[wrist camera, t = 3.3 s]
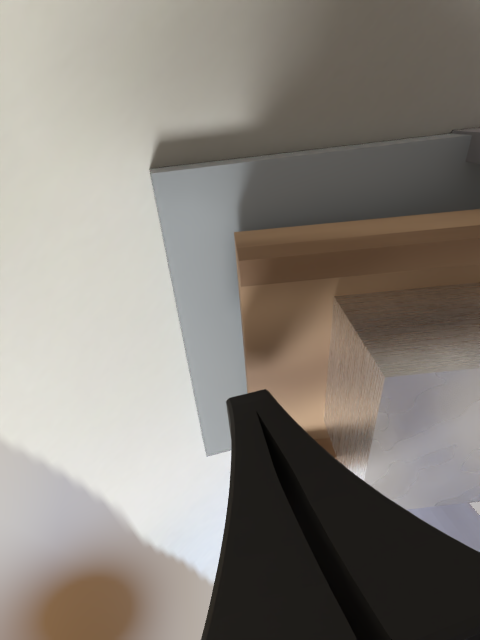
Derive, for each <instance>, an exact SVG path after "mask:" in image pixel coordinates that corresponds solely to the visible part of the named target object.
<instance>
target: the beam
mask: <svg viewBox="0 0 480 640" xmlns="http://www.w3.org/2000/svg"><path fill="white" fill-rule="evenodd" d="M234 239H235V251H236V263H237V275H238V287H239V299H240V310H241V322H242V334H243V346H244V358H245V370H246V382H247V393H251V392H255V391H259V390H264V389H266V390H268V391H269V392H270V393H271V395H272V396H273V397H274V398H275V399H276V401H277V402H278V403H279V404H280V405H281V406H282V407H283V409H284V410H285V411H286V412H287V413H288V414H289V415H290V416H291V417H292V418H293V419H294V420H295V421H296V422H297V423H298V424H299V425H300V426H301V427H302V428H303V429H304V430H305V431H306V432H307V433H308V434H309V435H310V436H311V437H312V438H313V439H314V440H315V441H316V442H317V443H318V444H320V445H321V446H322V447H323V448H324V449H325V450H326V451H327V452H329V453H330V454H331V455H332V456H333V457H334V458H335V459H337V457H336V454H335V451H334V448H333V445H332V442H331V440H330V437H329V434H328V431H327V428H326V425H325V422H324V411H325V399H326V387H327V375H328V363H329V351H330V339H331V327H332V315H333V303H334V297H335V296H345V295H355V294H365V293H375V292H386V291H396V290H406V289H416V288H426V287H436V286H446V285H457V284H467V283H477V282H480V209H474V210H464V211H453V212H442V213H432V214H421V215H411V216H400V217H389V218H379V219H368V220H357V221H347V222H336V223H326V224H315V225H304V226H294V227H283V228H273V229H262V230H251V231H241V232H234ZM337 460H338V459H337Z"/></svg>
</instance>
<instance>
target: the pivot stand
mask: <svg viewBox="0 0 480 640" xmlns="http://www.w3.org/2000/svg"><path fill="white" fill-rule="evenodd" d="M149 170H150V175H151V180H152V185H153V190H154V195H155V200H156V205H157V210H158V215H159V220H160V225H161V230H162V235H163V240H164V245H165V250H166V256H167V261H168V266H169V271H170V276H171V281H172V286H173V291H174V296H175V301H176V306H177V311H178V316H179V321H180V326H181V331H182V336H183V341H184V346H185V351H186V356H187V361H188V366H189V371H190V376H191V381H192V386H193V391H194V396H195V401H196V406H197V411H198V416H199V421H200V426H201V431H202V437H203V442H204V446H205V451H206V456H207V457H208V456H211V455H215V454H219V453H222V452H226V451H230V450H231V435H230V428H229V420H228V413H227V406H226V401H227V400H228V399H229V398H231V397H235V396H239V395H243V394H247V382H246V370H245V358H244V346H243V334H242V322H241V310H240V299H239V287H238V275H237V263H236V251H235V239H234V232H241V231H251V230H262V229H273V228H283V227H294V226H304V225H315V224H326V223H336V222H347V221H357V220H368V219H379V218H389V217H400V216H411V215H421V214H432V213H442V212H453V211H464V210H474V209H480V127H479V128H470V129H461V130H453V131H452V133H451V134H442V135H434V136H425V137H417V138H408V139H400V140H391V141H383V142H374V143H366V144H357V145H349V146H340V147H332V148H323V149H315V150H306V151H298V152H289V153H281V154H272V155H264V156H255V157H247V158H238V159H230V160H221V161H213V162H204V163H196V164H187V165H179V166H170V167H162V168H153V169H149Z"/></svg>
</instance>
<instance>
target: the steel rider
mask: <svg viewBox="0 0 480 640" xmlns="http://www.w3.org/2000/svg"><path fill="white" fill-rule="evenodd" d="M324 422H325V425H326V428H327V431H328V434H329V437H330V440H331V442H332V445H333V448H334V451H335V454H336V457H337V459H338V461H339V462H340V463H342V464H343V465H344V466H345V467H346V468H348V469H349V470H350V471H352V472H353V473H354V474H355V475H357V476H358V477H359V478H361V479H362V480H363V481H365V482H366V483H367V484H369V485H370V486H372V487H373V488H374V489H376V490H377V491H379V492H380V493H381V494H383V495H384V496H386V497H387V498H389V499H390V500H392V501H394V502H395V503H397V504H398V505H400V506H401V507H403V508H404V509H406V510H407V509H416V508H425V507H434V506H443V505H452V504H461V503H470V502H479V501H480V282H477V283H467V284H457V285H446V286H436V287H426V288H416V289H406V290H396V291H386V292H375V293H365V294H355V295H345V296H335V297H334V303H333V315H332V327H331V339H330V351H329V363H328V375H327V387H326V399H325V411H324Z"/></svg>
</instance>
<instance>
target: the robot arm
mask: <svg viewBox="0 0 480 640" xmlns="http://www.w3.org/2000/svg"><path fill="white" fill-rule="evenodd" d="M226 406H227V413H228V420H229V428H230V435H231V474H230V488H229V498H228V507H227V515H226V522H225V529H224V535H223V541H222V547H221V553H220V558H219V564H218V569H217V573H216V578H215V583H214V587H213V592H212V597H211V602H210V606H209V610H208V615H207V619H206V623H205V627H204V630H203V634H202V639H201V640H480V515H479V514H478V513H477V512H476V511H475V509H474V508H473V507H472V506H471V505H470V504H469V503H461V504H452V505H443V506H434V507H425V508H416V509H407V510H406V509H404V508H403V507H401V506H400V505H398V504H397V503H395V502H394V501H392V500H390V499H389V498H387V497H386V496H384V495H383V494H381V493H380V492H379V491H377V490H376V489H374V488H373V487H372V486H370V485H369V484H367V483H366V482H365V481H363V480H362V479H361V478H359V477H358V476H357V475H355V474H354V473H353V472H352V471H350V470H349V469H348V468H346V467H345V466H344V465H343V464H342V463H340V462H339V461H338V460H337V459H335V458H334V457H333V456H332V455H331V454H330V453H329V452H327V451H326V450H325V449H324V448H323V447H322V446H321V445H320V444H318V443H317V442H316V441H315V440H314V439H313V438H312V437H311V436H310V435H309V434H308V433H307V432H306V431H305V430H304V429H303V428H302V427H301V426H300V425H299V424H298V423H297V422H296V421H295V420H294V419H293V418H292V417H291V416H290V415H289V414H288V413H287V412H286V411H285V410H284V409H283V407H282V406H281V405H280V404H279V403H278V402H277V401H276V399H275V398H274V397H273V396H272V395H271V393H270V392H269V391H268V390H266V389H264V390H259V391H255V392H251V393H247V394H243V395H239V396H235V397H231V398H229V399H228V400H227V401H226Z"/></svg>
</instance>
